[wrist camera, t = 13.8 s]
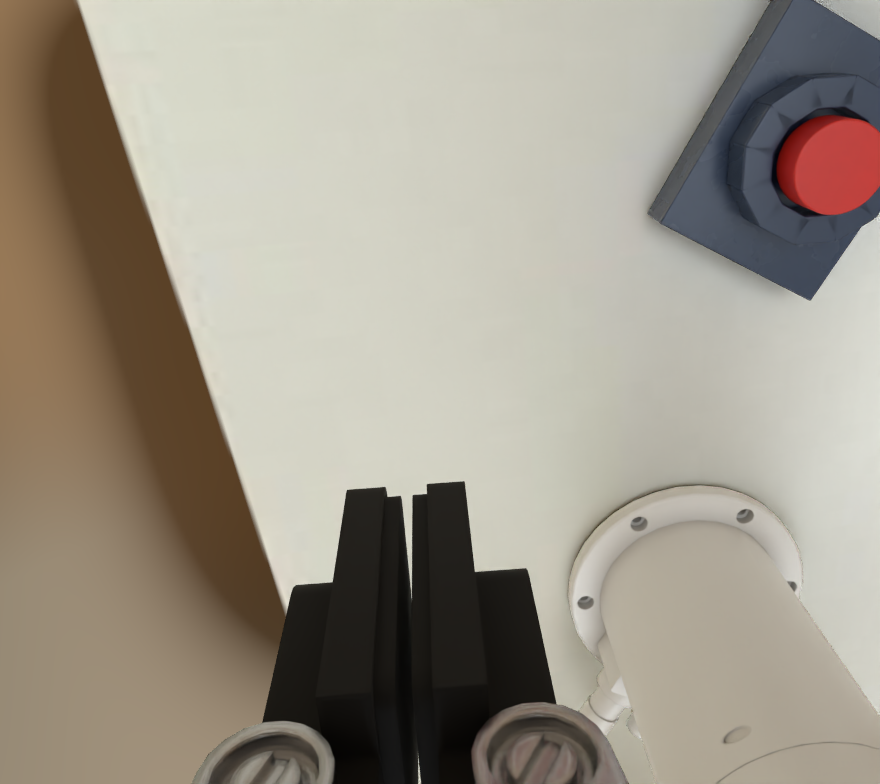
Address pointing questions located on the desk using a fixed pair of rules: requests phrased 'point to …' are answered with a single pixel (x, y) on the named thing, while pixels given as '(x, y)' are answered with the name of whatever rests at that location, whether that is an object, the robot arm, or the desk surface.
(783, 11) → the button box
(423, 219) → the desk surface
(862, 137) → the button
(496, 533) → the desk surface
